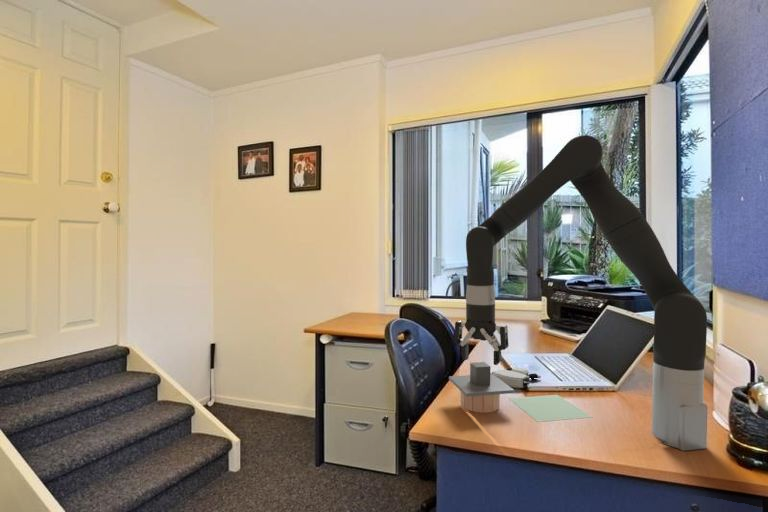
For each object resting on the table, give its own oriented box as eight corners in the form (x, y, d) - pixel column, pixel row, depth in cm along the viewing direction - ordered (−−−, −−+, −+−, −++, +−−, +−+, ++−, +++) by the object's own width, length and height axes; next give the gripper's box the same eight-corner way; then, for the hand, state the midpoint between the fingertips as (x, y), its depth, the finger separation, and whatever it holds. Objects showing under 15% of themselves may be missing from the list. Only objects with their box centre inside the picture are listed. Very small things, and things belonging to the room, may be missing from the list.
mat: (592, 420, 102) (592, 416, 102) (537, 425, 99) (537, 421, 99) (557, 397, 117) (557, 394, 117) (508, 401, 114) (508, 398, 114)
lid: (514, 393, 105) (514, 370, 104) (466, 396, 102) (466, 373, 102) (492, 376, 117) (492, 356, 117) (448, 379, 115) (449, 358, 115)
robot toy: (506, 376, 138) (484, 385, 126) (507, 363, 138) (485, 370, 127) (543, 385, 129) (523, 395, 118) (543, 371, 129) (523, 379, 118)
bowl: (506, 414, 106) (506, 391, 106) (469, 417, 104) (469, 394, 104) (489, 399, 116) (489, 378, 116) (455, 402, 114) (456, 380, 114)
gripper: (511, 301, 108) (511, 362, 108) (461, 298, 116) (461, 354, 117) (502, 305, 102) (502, 370, 102) (449, 301, 110) (450, 361, 110)
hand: (480, 361), depth 109 cm, fingers open, 8 cm apart
